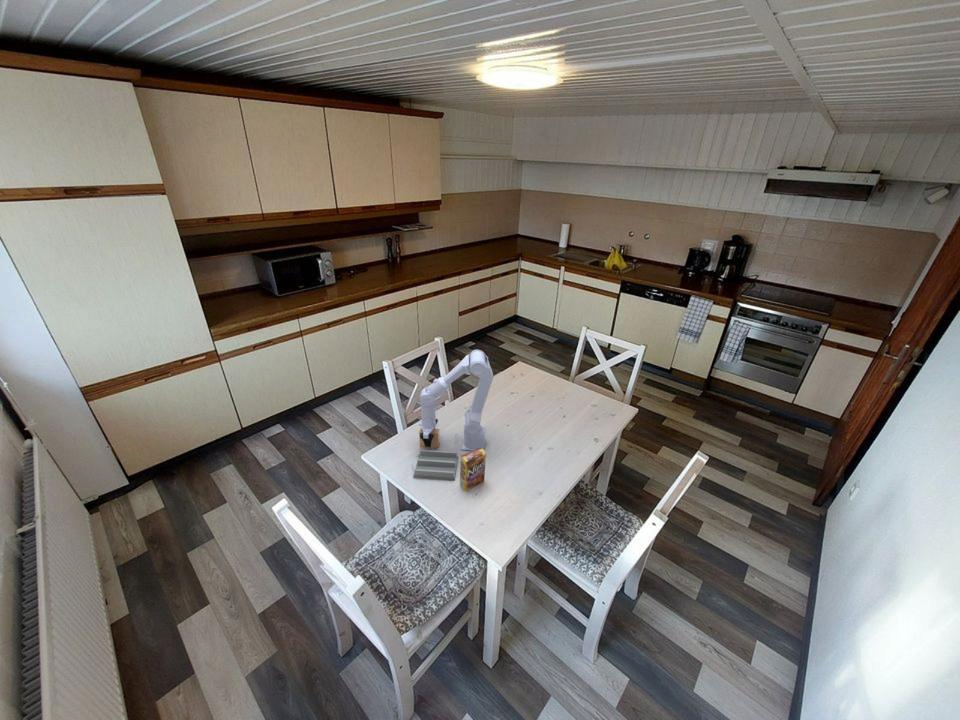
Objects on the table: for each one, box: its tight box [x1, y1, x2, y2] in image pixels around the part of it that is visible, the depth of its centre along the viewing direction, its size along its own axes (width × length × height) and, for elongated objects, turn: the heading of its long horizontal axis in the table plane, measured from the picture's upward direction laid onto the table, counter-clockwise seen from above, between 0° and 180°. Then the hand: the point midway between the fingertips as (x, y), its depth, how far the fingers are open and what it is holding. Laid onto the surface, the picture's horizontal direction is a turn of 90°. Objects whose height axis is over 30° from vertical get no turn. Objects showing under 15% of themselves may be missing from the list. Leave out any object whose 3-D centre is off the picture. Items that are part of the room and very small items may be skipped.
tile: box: [418, 427, 441, 449], centre depth 164 cm, size 8×3×8 cm, turn 86°
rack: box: [412, 449, 459, 481], centre depth 154 cm, size 16×12×4 cm
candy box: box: [459, 447, 487, 492], centre depth 144 cm, size 9×4×15 cm, turn 123°
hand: (429, 440), depth 165 cm, fingers open, 7 cm apart
